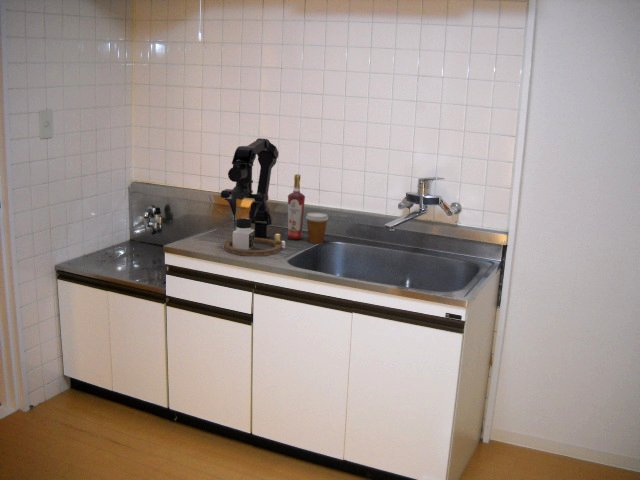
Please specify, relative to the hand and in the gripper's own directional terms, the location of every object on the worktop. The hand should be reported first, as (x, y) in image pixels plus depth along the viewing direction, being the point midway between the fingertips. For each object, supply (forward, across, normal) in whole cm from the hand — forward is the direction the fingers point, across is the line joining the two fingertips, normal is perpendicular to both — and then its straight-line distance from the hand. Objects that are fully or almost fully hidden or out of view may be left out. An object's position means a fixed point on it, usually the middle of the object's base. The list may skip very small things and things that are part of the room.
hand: (244, 216), depth 294 cm
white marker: (+13, +15, +8) cm, 21 cm away
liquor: (+13, +14, +24) cm, 31 cm away
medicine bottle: (+13, 0, 0) cm, 13 cm away
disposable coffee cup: (+13, +24, +23) cm, 36 cm away
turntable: (+13, +4, 0) cm, 14 cm away
